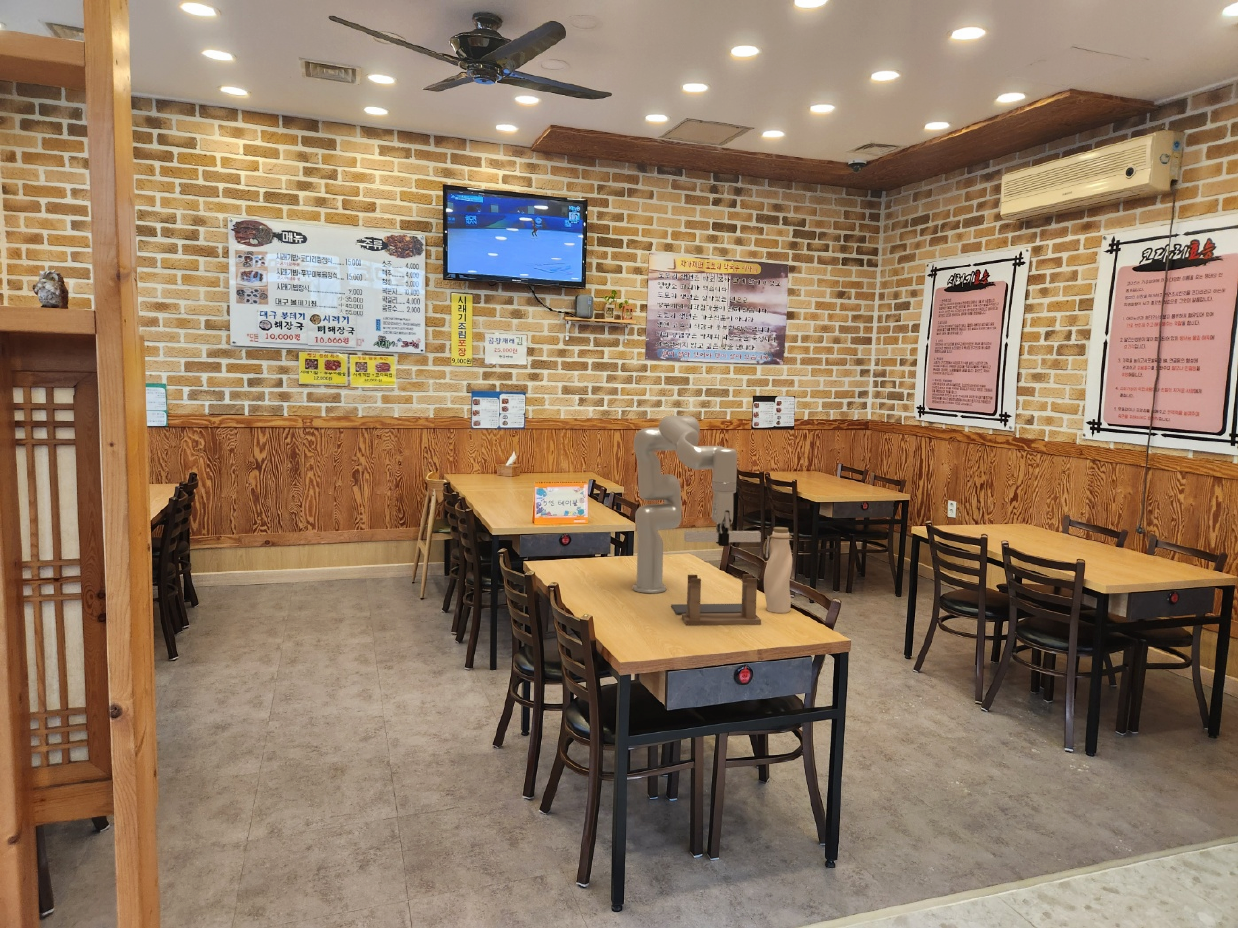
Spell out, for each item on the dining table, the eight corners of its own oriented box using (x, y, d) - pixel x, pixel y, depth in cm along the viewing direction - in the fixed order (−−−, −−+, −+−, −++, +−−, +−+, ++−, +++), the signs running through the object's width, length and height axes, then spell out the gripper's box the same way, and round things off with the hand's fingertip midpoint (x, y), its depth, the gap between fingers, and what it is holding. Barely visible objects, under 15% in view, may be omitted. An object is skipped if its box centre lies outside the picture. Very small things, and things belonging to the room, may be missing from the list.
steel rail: (684, 540, 252) (684, 530, 252) (757, 540, 254) (758, 530, 254) (686, 541, 249) (686, 532, 249) (760, 542, 251) (760, 532, 251)
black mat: (671, 606, 270) (671, 604, 269) (745, 605, 272) (745, 603, 272) (676, 614, 260) (676, 612, 260) (753, 613, 262) (753, 611, 262)
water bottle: (768, 614, 262) (771, 531, 259) (756, 607, 270) (759, 526, 268) (796, 612, 264) (799, 530, 262) (784, 605, 273) (786, 525, 270)
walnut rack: (681, 618, 256) (682, 574, 254) (754, 617, 258) (755, 573, 257) (686, 625, 248) (687, 579, 247) (760, 624, 250) (762, 579, 249)
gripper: (706, 484, 258) (705, 539, 259) (718, 490, 241) (716, 549, 243) (729, 484, 258) (727, 539, 260) (742, 490, 242) (740, 549, 244)
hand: (722, 544), depth 252 cm, fingers closed on steel rail, 3 cm apart
